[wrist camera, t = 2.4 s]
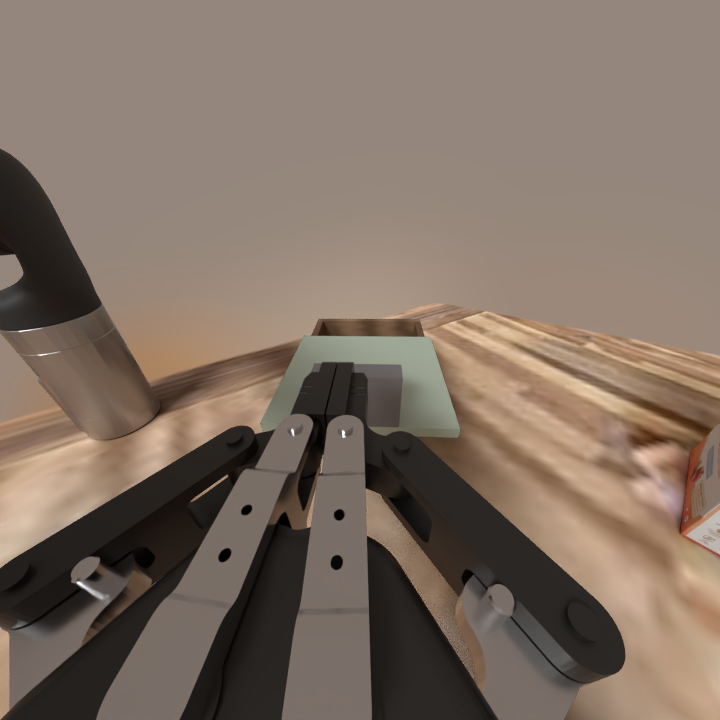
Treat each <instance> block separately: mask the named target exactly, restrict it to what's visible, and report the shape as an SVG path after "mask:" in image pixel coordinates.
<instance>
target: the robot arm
mask: <svg viewBox="0 0 720 720" xmlns="http://www.w3.org/2000/svg"><path fill="white" fill-rule="evenodd" d="M11 254H15V255H16V257H17V259H18V260H19V262H20V264H21V267H22V269H23V272H24V274H23V276H22V278H21V279H20V280H19V281H18V282H17V283H15V284H14V285H12V286H10V287H8V288H6V289H3V290H1V291H0V333H1V334H2V336H3V337H4V338H5V339H6V340H7V341H8V342H9V344H10V345H11V346H12V347H13V348H14V349H15V351H16V352H17V353H18V354H19V355H20V356H21V357H22V359H23V360H24V361H25V362H26V363H27V364H28V366H29V367H30V368H31V369H32V370H33V372H34V373H35V374H36V375H37V376H38V377H39V379H38V382H39V383H40V384H41V386H42V387H43V388H44V389H45V390H46V391H47V392H48V394H49V395H50V396H51V397H52V398H53V399H54V401H55V402H56V403H57V404H58V405H59V406H60V407H61V409H62V410H63V411H64V412H65V413H66V414H67V416H68V417H69V418H70V419H71V420H72V421H73V422H74V424H75V425H76V426H77V427H78V428H79V429H80V430H81V431H85V433H86V434H87V435H88V436H89V437H90V438H92V439H95V440H108V439H113V438H117V437H121V436H123V435H126V434H129V433H131V432H133V431H135V430H137V429H139V428H140V427H142V426H143V425H145V424H146V423H148V422H149V421H150V420H151V419H152V418H153V417H154V416H155V415H156V414H157V413H158V411H159V409H160V401H159V400H158V398H157V396H156V395H155V393H154V391H153V390H152V388H151V386H150V384H149V382H148V381H147V379H146V377H145V376H144V374H143V372H142V370H141V369H140V367H139V365H138V364H137V362H136V360H135V359H134V357H133V355H132V354H131V352H130V350H129V348H128V347H127V345H126V343H125V342H124V340H123V338H122V336H121V335H120V333H119V331H118V330H117V328H116V326H115V324H114V323H113V321H112V320H111V318H110V316H109V315H108V313H107V311H106V309H105V308H104V306H103V304H102V303H101V301H100V299H99V297H98V296H97V294H96V292H95V289H94V287H93V284H92V282H91V279H90V277H89V275H88V273H87V271H86V269H85V267H84V266H83V263H82V262H81V260H80V258H79V256H78V254H77V252H76V251H75V249H74V247H73V245H72V243H71V241H70V239H69V237H68V235H67V233H66V231H65V229H64V227H63V225H62V223H61V221H60V219H59V217H58V215H57V213H56V211H55V209H54V207H53V205H52V203H51V202H50V200H49V198H48V197H47V195H46V193H45V192H44V190H43V189H42V187H41V185H40V184H39V183H38V181H37V180H36V179H35V178H34V176H33V175H32V174H31V173H30V172H29V170H28V169H26V167H25V166H24V165H23V164H22V163H20V162H19V161H18V160H17V159H16V158H14V157H13V156H12V155H10V154H9V153H7V152H5V151H3V150H2V149H0V255H11ZM367 416H368V379H367V377H366V375H365V374H364V373H355V372H354V362H322V364H321V367H320V370H319V372H311V373H310V374H309V375H308V376H306V377H305V378H304V381H303V384H302V387H301V389H300V391H299V394H298V396H297V399H296V401H295V404H294V406H293V409H292V412H291V414H290V416H287V417H285V418H284V419H283V420H281V421H280V422H279V424H278V425H277V427H276V429H274V430H271V431H267V432H262V433H258V434H255V433H254V431H253V430H252V429H251V428H250V427H248V426H236V427H233V428H230V429H228V430H226V431H225V432H223V433H221V434H220V435H218V436H216V437H215V438H213V439H211V440H210V441H208V442H206V443H205V444H203V445H201V446H200V447H198V448H196V449H195V450H193V451H191V452H190V453H188V454H186V455H185V456H183V457H181V458H180V459H178V460H176V461H175V462H173V463H171V464H170V465H168V466H166V467H165V468H163V469H161V470H160V471H158V472H156V473H155V474H153V475H152V476H150V477H148V478H147V479H145V480H143V481H142V482H140V483H138V484H137V485H135V486H133V487H132V488H130V489H128V490H127V491H125V492H123V493H122V494H120V495H118V496H117V497H115V498H113V499H112V500H110V501H108V502H107V503H105V504H103V505H102V506H100V507H98V508H97V509H95V510H93V511H92V512H90V513H88V514H87V515H85V516H83V517H82V518H80V519H78V520H77V521H75V522H74V523H72V524H70V525H69V526H67V527H65V528H64V529H62V530H60V531H59V532H57V533H55V534H54V535H52V536H50V537H49V538H47V539H45V540H44V541H42V542H40V543H39V544H37V545H35V546H34V547H32V548H30V549H29V550H27V551H25V552H24V553H22V554H20V555H19V556H17V557H16V558H14V559H12V560H11V561H9V562H8V563H7V564H5V565H4V566H3V567H1V568H0V627H1V628H2V629H3V630H5V631H7V632H8V633H9V636H10V710H9V712H8V713H7V714H6V715H5V716H4V717H3V718H2V719H1V720H564V718H565V716H566V714H567V712H568V710H569V708H570V706H571V704H572V702H573V700H574V698H575V696H576V695H577V693H578V691H579V689H580V687H583V686H585V685H588V684H590V683H593V682H595V681H598V680H600V679H603V678H605V677H608V676H610V675H613V674H615V673H617V672H619V671H620V669H621V668H622V667H623V664H624V661H625V647H624V642H623V639H622V636H621V634H620V632H619V630H618V627H617V625H616V624H615V622H614V620H613V619H612V617H611V616H610V615H609V613H608V612H607V611H606V609H605V608H604V607H603V606H602V605H601V604H600V603H599V602H598V601H597V600H596V599H595V598H594V597H593V596H592V595H591V594H590V593H588V592H587V591H586V590H585V589H584V588H583V587H582V586H581V585H580V584H578V583H577V582H576V581H575V580H574V579H573V578H572V577H571V576H570V575H568V574H567V573H566V572H565V571H564V570H563V569H562V568H561V567H560V566H558V565H557V564H556V563H555V562H554V561H553V560H552V559H551V558H550V557H548V556H547V555H546V554H545V553H544V552H543V551H542V550H541V549H540V548H539V547H537V546H536V545H535V544H534V543H533V542H532V541H531V540H530V539H529V538H527V537H526V536H525V535H524V534H523V533H522V532H521V531H520V530H519V529H517V528H516V527H515V526H514V525H513V524H512V523H511V522H510V521H509V520H507V519H506V518H505V517H504V516H503V515H502V514H501V513H500V512H499V511H497V510H496V509H495V508H494V507H493V506H492V505H491V504H490V503H489V502H488V501H486V500H485V499H484V498H483V497H482V496H481V495H480V494H479V493H478V492H476V491H475V490H474V489H473V488H472V487H471V486H470V485H469V484H468V483H466V482H465V481H464V480H463V479H462V478H461V477H460V476H459V475H458V474H456V473H455V472H454V471H453V470H452V469H451V468H450V467H449V466H448V465H446V464H445V463H444V462H443V461H442V460H441V459H440V458H439V457H438V456H436V455H435V454H434V453H433V452H432V451H431V450H430V449H429V448H428V447H427V446H425V445H424V444H423V443H422V442H421V441H420V440H419V439H418V438H417V437H415V436H414V435H412V434H411V433H408V432H404V431H396V432H392V433H390V434H388V435H387V436H383V435H380V434H378V433H375V432H374V431H372V430H371V429H370V428H369V427H368V426H367ZM323 454H324V458H323V466H322V473H321V474H320V471H321V466H320V464H321V459H322V455H323ZM226 475H228V477H227V478H226V479H225V480H223V481H222V482H220V483H219V484H218V485H216V486H215V487H213V488H212V489H211V490H209V491H208V492H206V493H205V494H204V495H202V496H201V497H199V498H198V499H197V500H195V501H193V502H190V501H191V500H192V499H193V498H195V497H196V496H197V495H199V494H200V493H202V492H203V491H204V490H206V489H207V488H209V487H210V486H211V485H213V484H214V483H216V482H217V481H218V480H220V479H221V478H223V477H224V476H226ZM365 488H367V489H369V490H372V491H374V492H377V493H379V494H381V495H382V498H383V500H384V501H385V502H386V504H387V505H388V506H389V508H390V509H391V510H392V511H393V513H394V514H395V515H396V517H397V518H398V519H399V520H400V522H401V523H402V524H403V526H404V527H405V528H406V529H407V531H408V532H409V533H410V535H411V536H412V537H413V538H414V540H415V541H416V542H417V544H418V545H419V546H420V547H421V549H422V550H423V551H424V553H425V554H426V555H427V557H428V558H429V559H430V560H431V562H432V563H433V564H434V566H435V567H436V568H437V569H438V571H439V572H440V573H441V575H442V576H443V577H444V578H445V580H446V581H447V582H448V584H449V585H450V586H451V587H452V589H453V590H454V591H455V593H456V594H457V595H458V596H459V599H458V601H457V604H456V608H455V618H456V624H457V627H458V631H459V633H460V635H461V637H462V639H463V641H464V643H465V644H466V646H467V648H468V650H469V652H470V655H471V657H472V660H473V664H474V669H475V677H476V683H475V682H474V680H473V679H472V677H471V675H470V674H469V672H468V671H467V669H466V668H465V666H464V664H463V663H462V661H461V660H460V658H459V657H458V655H457V654H456V652H455V650H454V649H453V647H452V646H451V644H450V643H449V641H448V639H447V638H446V636H445V635H444V633H443V632H442V630H441V628H440V627H439V625H438V624H437V622H436V621H435V619H434V618H433V616H432V614H431V613H430V611H429V610H428V608H427V607H426V605H425V603H424V602H423V600H422V599H421V597H420V596H419V594H418V593H417V591H416V589H415V588H414V586H413V585H412V583H411V582H410V580H409V578H408V577H407V575H406V574H405V572H404V571H403V569H402V567H401V566H400V564H399V563H398V561H397V560H396V559H395V557H394V556H393V555H392V554H391V553H390V552H389V551H388V550H387V549H386V548H385V547H384V546H383V545H381V544H380V543H379V542H377V541H376V540H374V539H372V538H370V537H368V536H367V526H366V491H365ZM315 489H316V493H315V500H314V508H313V515H312V523H311V527H309V528H307V517H308V513H309V509H310V506H311V502H312V499H313V496H314V492H315ZM161 577H162V578H161ZM160 578H161V579H160ZM155 582H156V583H155ZM154 583H155V584H154ZM153 584H154V585H153Z"/></svg>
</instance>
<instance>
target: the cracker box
mask: <svg viewBox="0 0 720 720" xmlns="http://www.w3.org/2000/svg"><path fill="white" fill-rule="evenodd" d="M681 535H683V536H685V537H686V538H688V539H690V540H692V541H694V542H695V543H697V544H699V545H701V546H703V547H704V548H706V549H708V550H710V551H711V552H713V553H715V554H717V555H719V556H720V423H719V424H718V425H717V426H716V427H715V428H714V429H713V430H712V431H711V432H710V433H709V434H708V435H707V436H706V437H705V438H704V439H703V440H702V441H701V442H700V443H699V444H698V445H697V446H696V447H695V448H694V449H693V450H692V451H691V453H690V463H689V471H688V479H687V486H686V494H685V503H684V510H683V517H682V525H681Z"/></svg>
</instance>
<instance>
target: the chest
mask: <svg viewBox="0 0 720 720" xmlns="http://www.w3.org/2000/svg"><path fill="white" fill-rule="evenodd" d="M311 336H384V337H424V333H423V330H422V326H421V323H420V319H319V320H318V322H317V324H316V326H315V329H314V331H313V333H312V335H311Z"/></svg>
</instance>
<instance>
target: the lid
mask: <svg viewBox="0 0 720 720" xmlns="http://www.w3.org/2000/svg"><path fill="white" fill-rule="evenodd" d="M322 362H354V372H355V373H364V374H365V375H366V377H367V379H368V416H367V426H368V427H369V428H370V429H371V430H372V431H374V432H375V433H378V434H380V435H388V434H390V433H392V432H396V431H404V432H408V433H411V434H412V435H414V436H417V437H448V438H458V436H459V433H460V427H459V424H458V420H457V417H456V414H455V411H454V408H453V405H452V402H451V399H450V396H449V393H448V390H447V387H446V383H445V380H444V377H443V374H442V371H441V368H440V365H439V362H438V359H437V356H436V353H435V350H434V346H433V343H432V340H431V337H384V336H304V337H303V339H302V341H301V343H300V345H299V347H298V349H297V351H296V353H295V355H294V357H293V359H292V361H291V363H290V365H289V367H288V369H287V371H286V373H285V375H284V377H283V379H282V381H281V383H280V385H279V387H278V389H277V391H276V393H275V395H274V397H273V399H272V401H271V403H270V405H269V407H268V409H267V411H266V413H265V415H264V417H263V419H262V421H261V423H260V424H261V427H262V430H263V431H265V432H267V431H271V430H274V429H276V427H277V425H278V424H279V422H280V421H281V420H283V419H284V418H285V417H287V416H290V414H291V412H292V409H293V406H294V404H295V401H296V399H297V396H298V394H299V391H300V389H301V387H302V384H303V381H304V378H305V377H306V376H308V375H309V374H310V373H311V372H319V370H320V367H321V364H322Z"/></svg>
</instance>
